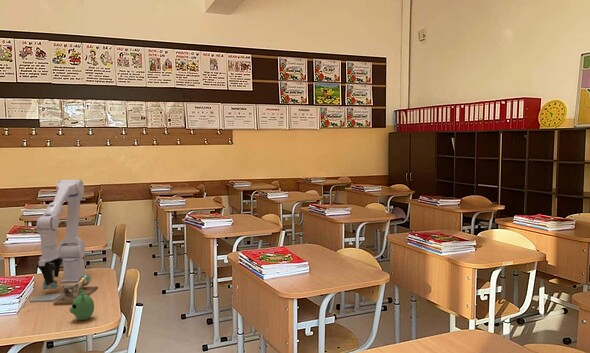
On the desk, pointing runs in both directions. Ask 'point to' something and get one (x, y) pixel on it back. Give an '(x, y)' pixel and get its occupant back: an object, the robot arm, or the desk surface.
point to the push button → (52, 283)
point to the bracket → (69, 298)
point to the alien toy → (82, 306)
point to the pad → (46, 298)
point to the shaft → (80, 283)
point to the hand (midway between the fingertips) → (51, 279)
